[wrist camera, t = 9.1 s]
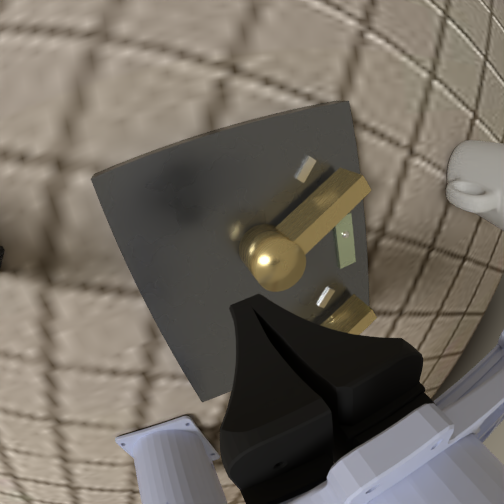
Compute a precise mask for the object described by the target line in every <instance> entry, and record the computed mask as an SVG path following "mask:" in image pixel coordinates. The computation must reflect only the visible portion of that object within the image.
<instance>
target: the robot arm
mask: <svg viewBox="0 0 504 504" xmlns="http://www.w3.org/2000/svg"><path fill="white" fill-rule="evenodd" d="M229 310H230V313H231V316H232V318H233V321H234V326H235V336H236V364H235V374H234V381H233V387H232V392H231V396H230V400H229V404H228V408H227V411H226V414H225V417H224V419H223V422H222V425H221V428H220V452H221V458H222V462H223V465H224V468H225V470H226V472H227V474H228V477H229V478H230V479H231V480H232V481H233V483H234V484H235V485H236V486H237V487H238V488H239V489H240V491H241V493H242V495H243V498H244V500H245V502H246V504H504V465H503V464H502V463H501V462H500V461H499V460H498V459H497V458H496V457H495V456H494V455H493V454H492V452H490V450H489V449H488V448H487V447H486V446H485V445H484V444H482V443H483V442H484V441H485V439H486V438H487V437H488V436H489V435H490V434H491V433H492V432H493V431H494V430H495V429H496V427H497V426H498V425H499V424H500V423H501V422H502V421H503V419H504V330H503V331H502V333H501V335H500V337H499V340H498V344H497V345H496V346H495V347H494V348H493V349H492V350H491V351H490V352H489V353H488V354H487V355H486V356H485V357H484V358H483V359H482V360H481V361H480V362H479V363H478V364H477V365H475V366H474V367H473V368H472V369H471V370H470V371H469V372H468V373H467V374H466V375H464V376H463V377H462V378H461V379H460V380H459V381H457V382H456V383H455V384H454V385H453V386H451V388H449V389H448V390H447V391H445V392H444V393H443V394H442V395H440V396H439V397H438V398H437V399H435V400H434V401H432V400H431V399H430V398H429V397H428V396H427V395H426V394H425V393H424V392H425V387H424V386H423V385H422V384H421V383H420V382H419V380H420V376H421V371H422V367H423V357H422V354H421V353H419V352H418V351H417V350H416V349H415V348H414V347H413V346H412V345H410V344H409V343H408V342H406V341H405V340H403V339H402V338H379V337H369V336H361V335H355V334H350V333H346V332H341V331H337V330H333V329H330V328H327V327H324V326H321V325H318V324H315V323H313V322H310V321H308V320H306V319H304V318H301V317H299V316H297V315H295V314H293V313H291V312H290V311H288V310H286V309H284V308H282V307H280V306H279V305H277V304H275V303H274V302H272V301H270V300H269V299H267V298H266V297H264V296H263V295H261V294H256V295H254V296H251V297H249V298H246V299H244V300H242V301H239V302H237V303H234V304H232V305H230V307H229ZM115 441H116V443H117V444H118V445H119V446H120V447H121V448H123V449H124V450H125V451H126V452H127V453H128V454H129V455H131V456H132V457H133V458H134V462H135V468H136V474H137V480H138V485H139V491H140V496H141V501H142V504H227V500H226V497H225V495H224V492H223V489H222V487H221V484H220V481H219V479H218V476H217V473H216V470H215V467H214V465H213V462H212V461H214V460H217V459H219V458H220V456H219V454H218V452H217V451H216V450H215V449H214V447H213V446H212V445H211V444H210V442H209V441H208V440H207V439H206V437H205V436H204V435H203V433H202V432H201V431H200V430H199V428H198V427H197V426H196V424H195V423H194V422H193V420H192V419H191V418H190V417H189V416H182V417H180V418H177V419H174V420H171V421H168V422H165V423H162V424H159V425H155V426H152V427H149V428H146V429H143V430H139V431H136V432H133V433H129V434H126V435H122V436H119V437H116V438H115ZM333 461H334V462H333ZM334 463H335V464H334Z"/></svg>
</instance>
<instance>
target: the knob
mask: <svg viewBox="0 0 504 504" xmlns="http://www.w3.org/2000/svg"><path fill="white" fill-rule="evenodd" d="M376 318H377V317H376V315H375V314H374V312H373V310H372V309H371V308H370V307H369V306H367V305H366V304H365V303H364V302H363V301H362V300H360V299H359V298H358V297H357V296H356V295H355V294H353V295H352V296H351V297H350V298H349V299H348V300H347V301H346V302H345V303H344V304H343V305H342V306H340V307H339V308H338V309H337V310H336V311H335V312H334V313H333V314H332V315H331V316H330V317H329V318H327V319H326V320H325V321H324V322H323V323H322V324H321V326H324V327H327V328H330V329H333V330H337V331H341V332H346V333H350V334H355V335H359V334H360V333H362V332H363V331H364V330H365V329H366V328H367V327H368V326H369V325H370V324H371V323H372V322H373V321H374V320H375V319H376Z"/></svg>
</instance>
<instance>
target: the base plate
mask: <svg viewBox="0 0 504 504" xmlns="http://www.w3.org/2000/svg"><path fill="white" fill-rule="evenodd" d="M339 168H343V169H346V170H349V171H352V172H355V173H358V174H360V170H359V162H358V154H357V147H356V140H355V134H354V128H353V122H352V116H351V110H350V104H349V101H332V102H327V103H322V104H317V105H312V106H307V107H303V108H298V109H293V110H289V111H285V112H280V113H276V114H272V115H268V116H264V117H260V118H256V119H252V120H249V121H245V122H241V123H238V124H234V125H231V126H227V127H224V128H220V129H217V130H214V131H210V132H207V133H204V134H201V135H198V136H194V137H191V138H188V139H185V140H182V141H179V142H176V143H173V144H170V145H168V146H165V147H162V148H159V149H156V150H154V151H151V152H148V153H145V154H143V155H140V156H137V157H135V158H132V159H130V160H127V161H125V162H122V163H120V164H117V165H115V166H112V167H110V168H107V169H105V170H103V171H100V172H98V173H96V174H94V175H93V177H92V178H91V180H92V183H93V186H94V188H95V191H96V193H97V196H98V199H99V201H100V204H101V206H102V208H103V211H104V213H105V216H106V218H107V221H108V223H109V225H110V228H111V230H112V232H113V235H114V237H115V239H116V242H117V244H118V246H119V248H120V251H121V253H122V255H123V257H124V259H125V261H126V264H127V266H128V268H129V270H130V272H131V274H132V276H133V278H134V280H135V283H136V285H137V287H138V289H139V291H140V293H141V295H142V297H143V299H144V301H145V303H146V305H147V307H148V308H149V310H150V312H151V314H152V316H153V318H154V320H155V322H156V324H157V326H158V327H159V329H160V331H161V333H162V335H163V337H164V338H165V340H166V342H167V344H168V346H169V347H170V349H171V351H172V353H173V354H174V356H175V358H176V360H177V361H178V363H179V365H180V367H181V368H182V370H183V372H184V373H185V375H186V377H187V378H188V380H189V382H190V383H191V385H192V387H193V388H194V390H195V391H196V393H197V395H198V396H199V398H200V399H201V401H202V402H204V401H207V400H210V399H212V398H215V397H217V396H220V395H222V394H225V393H227V392H230V391H232V387H233V381H234V374H235V364H236V336H235V326H234V321H233V318H232V316H231V313H230V310H229V307H230V305H232V304H234V303H237V302H239V301H242V300H244V299H246V298H249V297H251V296H254V295H256V294H261V295H263V296H264V297H266V298H267V299H269V300H270V301H272V302H274V303H275V304H277V305H279V306H280V307H282V308H284V309H286V310H288V311H290V312H291V313H293V314H295V315H297V316H299V317H301V318H304V319H306V320H308V321H310V322H313V323H315V324H318V325H321V324H322V323H323V322H324V321H325V320H326V319H327V318H329V317H330V316H331V315H332V314H333V313H334V312H335V311H336V310H337V309H338V308H339V307H340V306H342V305H343V304H344V303H345V302H346V301H347V300H348V299H349V298H350V297H351V296H352V295H353V294H355V295H356V296H357V297H358V298H359V299H360V300H362V301H363V302H364V303H365V304H366V305H367V306H369V282H368V259H367V243H366V229H365V217H364V206H363V199H362V200H361V201H360V202H359V203H358V204H357V205H356V206H355V207H354V208H353V209H352V210H351V211H350V212H349V213H348V214H347V215H346V216H345V217H344V218H343V219H342V220H341V221H340V222H339V223H338V224H337V225H336V226H335V227H334V228H333V229H332V230H331V231H330V232H328V233H327V234H326V235H325V236H324V237H323V238H322V239H321V240H320V241H319V242H318V243H317V244H316V245H315V246H314V247H313V248H312V249H311V250H310V251H309V252H308V253H307V254H305V256H306V267H305V271H304V273H303V275H302V277H301V278H300V279H299V281H298V282H297V283H296V284H295V285H293V286H292V287H290V288H289V289H286V290H284V291H279V292H272V291H268V290H266V289H264V288H263V287H262V286H261V285H260V284H259V283H258V281H257V280H256V279H255V277H254V276H253V275H252V273H251V272H250V271H249V269H248V268H247V267H246V265H245V264H244V263H243V261H242V260H241V258H240V255H239V245H240V241H241V239H242V237H243V236H244V234H245V233H246V232H247V231H248V230H249V229H251V228H252V227H254V226H257V225H260V224H270V225H273V226H275V227H276V226H278V225H279V224H280V223H281V222H282V221H283V220H284V219H285V218H286V217H287V216H288V215H289V214H290V213H291V212H293V211H294V210H295V209H296V208H297V207H298V206H299V205H300V204H301V203H302V202H303V201H304V200H305V199H307V198H308V197H309V196H310V195H311V194H312V193H313V192H314V191H315V190H316V189H317V188H318V187H319V186H320V185H322V184H323V183H324V182H325V181H326V180H327V179H328V178H329V177H330V176H331V175H332V174H333V173H334V172H336V171H337V170H338V169H339Z"/></svg>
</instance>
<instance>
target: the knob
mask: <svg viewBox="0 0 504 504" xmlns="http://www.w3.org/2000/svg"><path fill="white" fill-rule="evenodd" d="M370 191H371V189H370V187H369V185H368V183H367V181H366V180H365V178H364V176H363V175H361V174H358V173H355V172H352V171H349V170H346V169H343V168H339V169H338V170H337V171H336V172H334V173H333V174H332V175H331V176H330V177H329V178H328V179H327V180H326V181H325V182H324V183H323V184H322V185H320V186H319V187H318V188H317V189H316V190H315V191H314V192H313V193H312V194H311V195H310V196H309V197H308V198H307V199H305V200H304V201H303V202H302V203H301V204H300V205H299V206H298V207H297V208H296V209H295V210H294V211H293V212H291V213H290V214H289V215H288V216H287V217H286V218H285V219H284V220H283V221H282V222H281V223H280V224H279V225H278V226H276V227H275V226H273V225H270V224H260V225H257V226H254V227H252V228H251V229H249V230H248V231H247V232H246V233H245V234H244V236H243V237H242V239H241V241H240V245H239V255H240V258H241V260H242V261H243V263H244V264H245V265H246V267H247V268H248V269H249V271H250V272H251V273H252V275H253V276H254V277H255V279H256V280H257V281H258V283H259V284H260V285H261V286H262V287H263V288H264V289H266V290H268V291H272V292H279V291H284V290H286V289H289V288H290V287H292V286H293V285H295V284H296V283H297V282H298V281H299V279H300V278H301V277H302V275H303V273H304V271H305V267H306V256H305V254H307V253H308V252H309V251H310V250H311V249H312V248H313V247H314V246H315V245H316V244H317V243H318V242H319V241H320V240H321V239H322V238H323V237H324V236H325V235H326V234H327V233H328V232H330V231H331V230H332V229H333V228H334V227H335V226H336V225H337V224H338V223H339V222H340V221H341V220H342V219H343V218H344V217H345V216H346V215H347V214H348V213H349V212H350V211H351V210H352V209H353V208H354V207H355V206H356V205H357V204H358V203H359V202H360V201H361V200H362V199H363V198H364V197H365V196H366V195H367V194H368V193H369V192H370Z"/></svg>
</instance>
